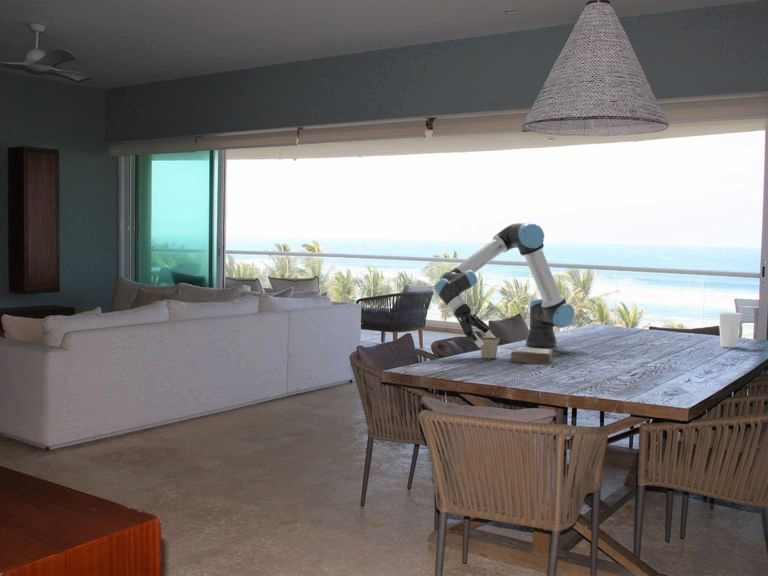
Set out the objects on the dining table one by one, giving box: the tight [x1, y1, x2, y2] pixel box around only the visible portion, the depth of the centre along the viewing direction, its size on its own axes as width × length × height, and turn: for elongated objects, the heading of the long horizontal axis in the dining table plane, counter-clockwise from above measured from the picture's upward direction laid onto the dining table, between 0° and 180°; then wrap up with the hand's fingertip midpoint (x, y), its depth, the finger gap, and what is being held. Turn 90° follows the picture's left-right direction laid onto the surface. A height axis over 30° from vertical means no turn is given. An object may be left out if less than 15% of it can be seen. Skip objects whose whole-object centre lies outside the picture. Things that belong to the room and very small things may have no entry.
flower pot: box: [479, 336, 501, 360], centre depth 348 cm, size 9×9×9 cm
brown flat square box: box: [510, 347, 554, 365], centre depth 343 cm, size 16×16×4 cm
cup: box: [717, 311, 742, 349], centre depth 400 cm, size 11×10×17 cm
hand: (488, 344), depth 348 cm, fingers open, 13 cm apart
